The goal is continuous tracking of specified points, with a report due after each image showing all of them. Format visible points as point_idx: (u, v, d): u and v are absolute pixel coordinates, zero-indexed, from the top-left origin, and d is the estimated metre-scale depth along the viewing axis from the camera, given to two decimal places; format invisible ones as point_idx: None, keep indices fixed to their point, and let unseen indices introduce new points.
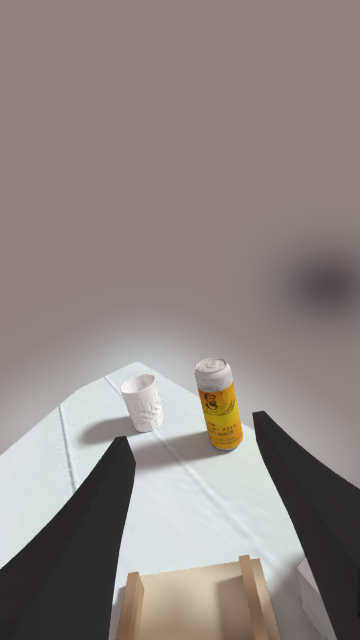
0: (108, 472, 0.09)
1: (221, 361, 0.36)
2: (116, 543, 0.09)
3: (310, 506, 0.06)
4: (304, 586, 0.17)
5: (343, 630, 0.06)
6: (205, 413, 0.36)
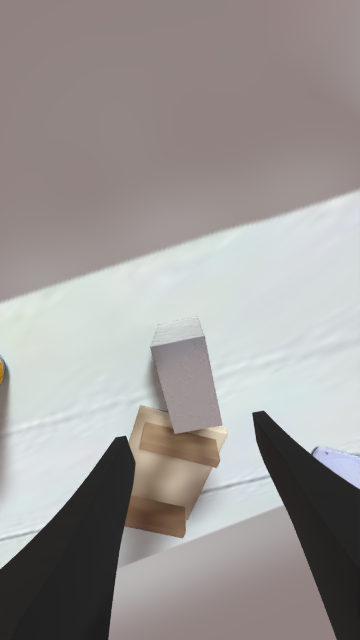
0: (108, 472, 0.09)
1: None
2: (116, 543, 0.09)
3: (310, 506, 0.06)
4: None
5: (343, 630, 0.06)
6: None
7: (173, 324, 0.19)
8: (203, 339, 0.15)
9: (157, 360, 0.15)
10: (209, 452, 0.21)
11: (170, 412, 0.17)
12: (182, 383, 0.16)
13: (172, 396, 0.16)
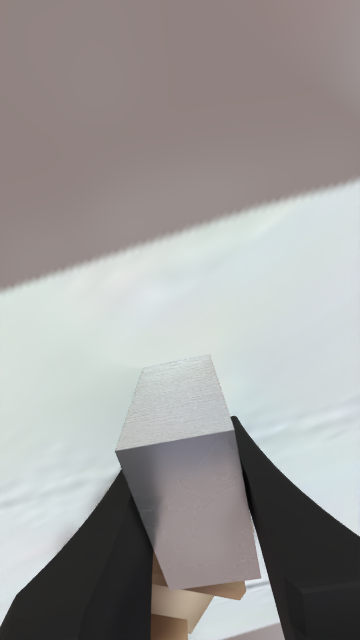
0: None
1: None
2: None
3: (259, 514, 0.06)
4: None
5: (287, 637, 0.06)
6: None
7: (168, 373, 0.11)
8: (231, 436, 0.07)
9: (131, 475, 0.07)
10: None
11: (161, 559, 0.09)
12: (185, 514, 0.08)
13: (164, 535, 0.08)
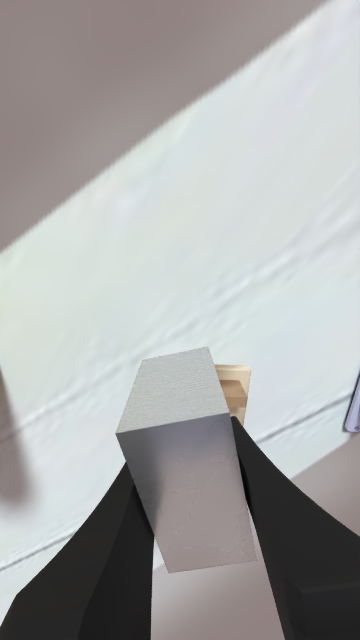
0: None
1: None
2: (150, 537, 0.09)
3: (259, 514, 0.06)
4: None
5: (287, 637, 0.06)
6: None
7: (167, 364, 0.11)
8: (227, 419, 0.07)
9: (131, 457, 0.08)
10: (233, 392, 0.18)
11: (160, 541, 0.09)
12: (183, 496, 0.08)
13: (162, 517, 0.08)
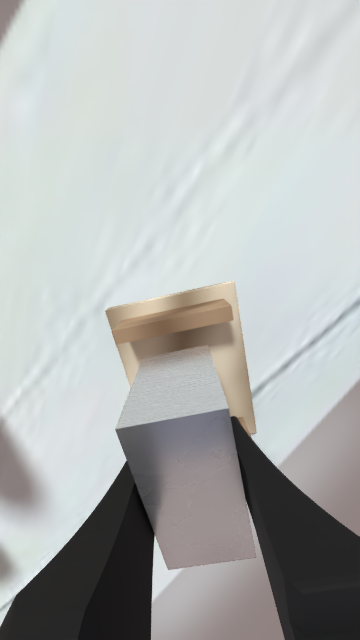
0: None
1: None
2: (150, 538, 0.09)
3: (259, 514, 0.06)
4: None
5: (287, 637, 0.06)
6: None
7: (167, 362, 0.11)
8: (226, 415, 0.07)
9: (131, 453, 0.08)
10: (213, 306, 0.14)
11: (159, 538, 0.09)
12: (182, 492, 0.08)
13: (162, 514, 0.08)
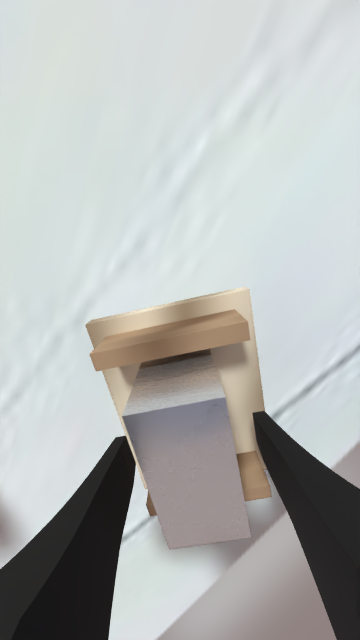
0: (108, 472, 0.09)
1: None
2: (116, 543, 0.09)
3: (310, 506, 0.06)
4: None
5: (343, 630, 0.06)
6: None
7: (168, 357, 0.12)
8: (223, 403, 0.08)
9: (136, 438, 0.08)
10: (223, 322, 0.11)
11: (161, 519, 0.10)
12: (183, 475, 0.09)
13: (164, 495, 0.09)
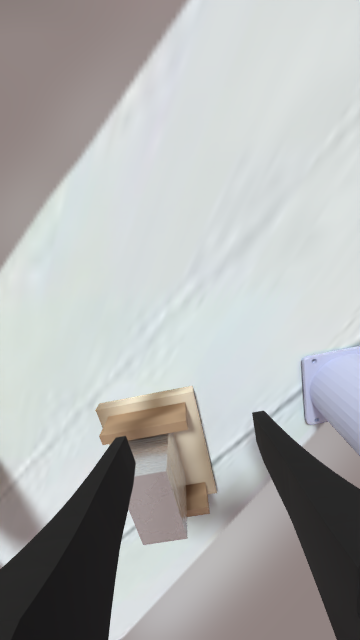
0: (108, 472, 0.09)
1: None
2: (116, 543, 0.09)
3: (310, 506, 0.06)
4: None
5: (343, 630, 0.06)
6: None
7: None
8: (165, 473, 0.16)
9: None
10: (174, 417, 0.19)
11: (138, 528, 0.18)
12: (148, 506, 0.17)
13: (139, 516, 0.18)
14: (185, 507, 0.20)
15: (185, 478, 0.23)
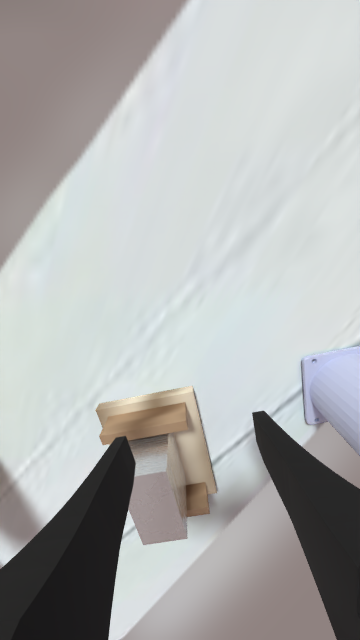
0: (108, 472, 0.09)
1: None
2: (116, 543, 0.09)
3: (310, 506, 0.06)
4: None
5: (343, 630, 0.06)
6: None
7: None
8: (165, 473, 0.16)
9: None
10: (174, 417, 0.19)
11: (138, 528, 0.18)
12: (148, 506, 0.17)
13: (139, 516, 0.18)
14: (185, 507, 0.20)
15: (185, 478, 0.23)
